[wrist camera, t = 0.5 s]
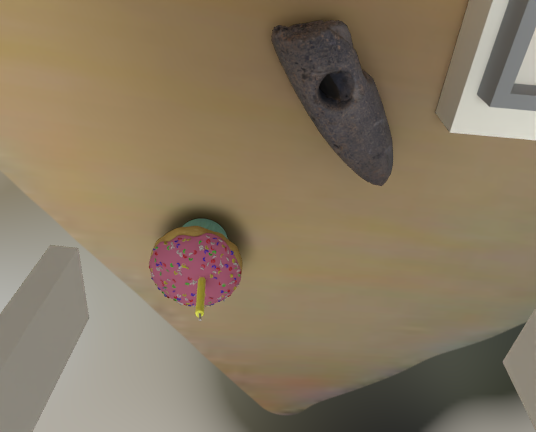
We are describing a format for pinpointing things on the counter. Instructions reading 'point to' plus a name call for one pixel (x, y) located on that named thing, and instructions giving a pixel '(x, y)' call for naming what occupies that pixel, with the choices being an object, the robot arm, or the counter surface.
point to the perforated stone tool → (337, 94)
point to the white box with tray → (493, 72)
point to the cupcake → (196, 264)
